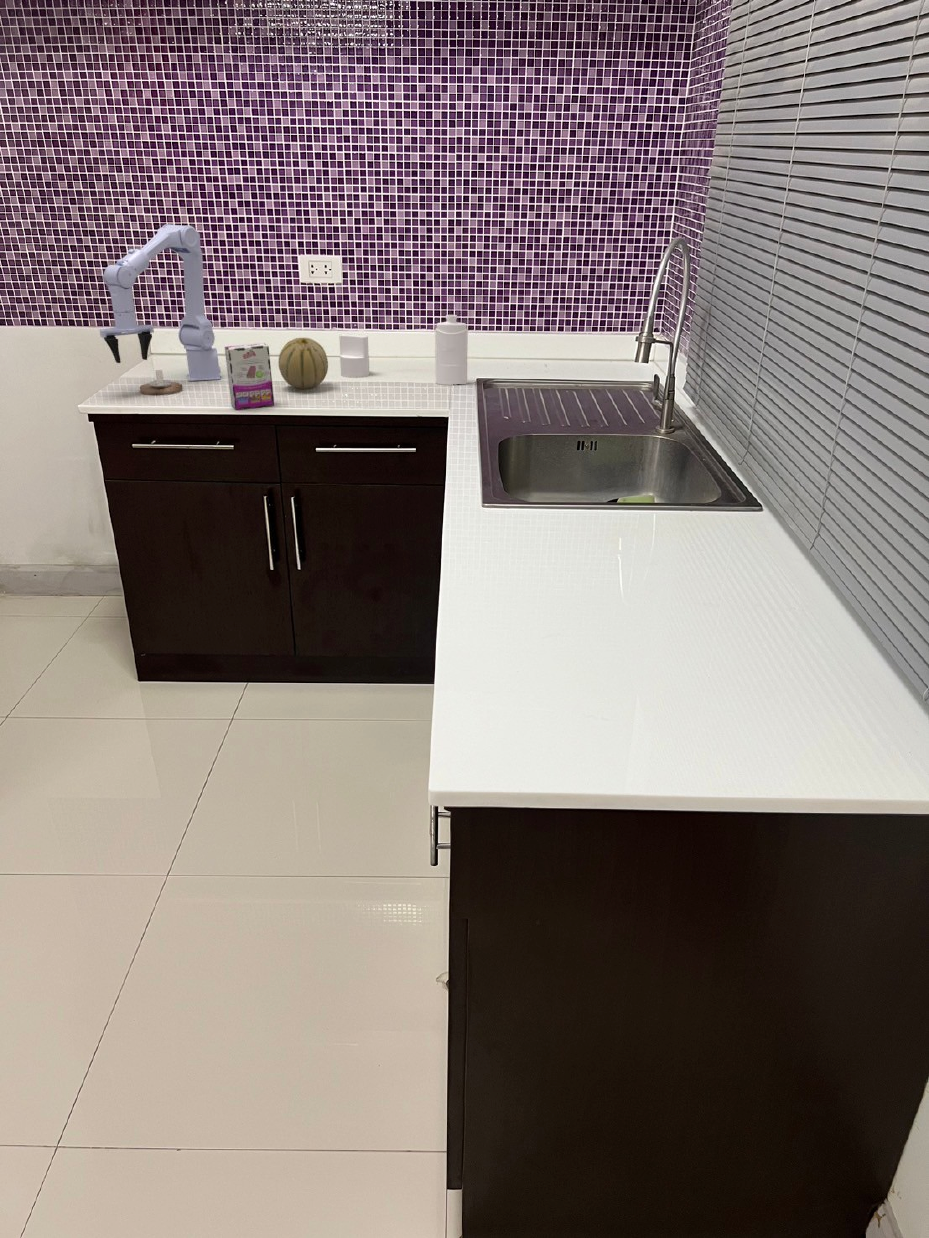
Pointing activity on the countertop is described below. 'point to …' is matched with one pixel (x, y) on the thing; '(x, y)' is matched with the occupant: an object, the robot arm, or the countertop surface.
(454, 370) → the squeeze bottle
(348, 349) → the cylinder with rectangular tab
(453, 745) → the countertop surface
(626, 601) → the countertop surface
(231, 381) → the candy bar box
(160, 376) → the dial
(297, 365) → the cantaloupe
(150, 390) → the base
